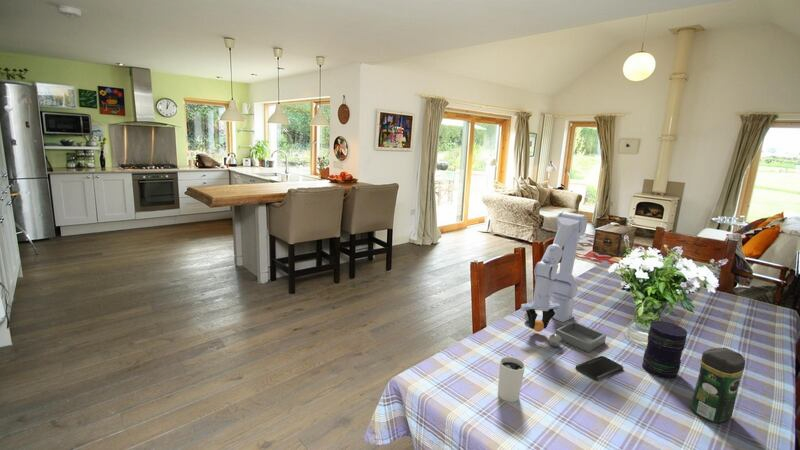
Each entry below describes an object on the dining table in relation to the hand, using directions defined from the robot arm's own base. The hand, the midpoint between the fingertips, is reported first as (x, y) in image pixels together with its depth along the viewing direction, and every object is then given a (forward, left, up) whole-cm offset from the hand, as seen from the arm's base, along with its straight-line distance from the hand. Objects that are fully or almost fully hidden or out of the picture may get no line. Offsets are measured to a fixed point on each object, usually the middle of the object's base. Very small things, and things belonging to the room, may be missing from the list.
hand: (537, 327), depth 146 cm
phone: (+4, +25, -3) cm, 26 cm away
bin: (-9, +12, -2) cm, 15 cm away
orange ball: (0, 0, +1) cm, 1 cm away
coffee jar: (0, +53, -3) cm, 53 cm away
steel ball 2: (+3, +9, 0) cm, 9 cm away
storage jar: (-12, +37, -3) cm, 39 cm away
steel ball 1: (-6, -7, 0) cm, 9 cm away
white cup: (+40, +16, -3) cm, 43 cm away
